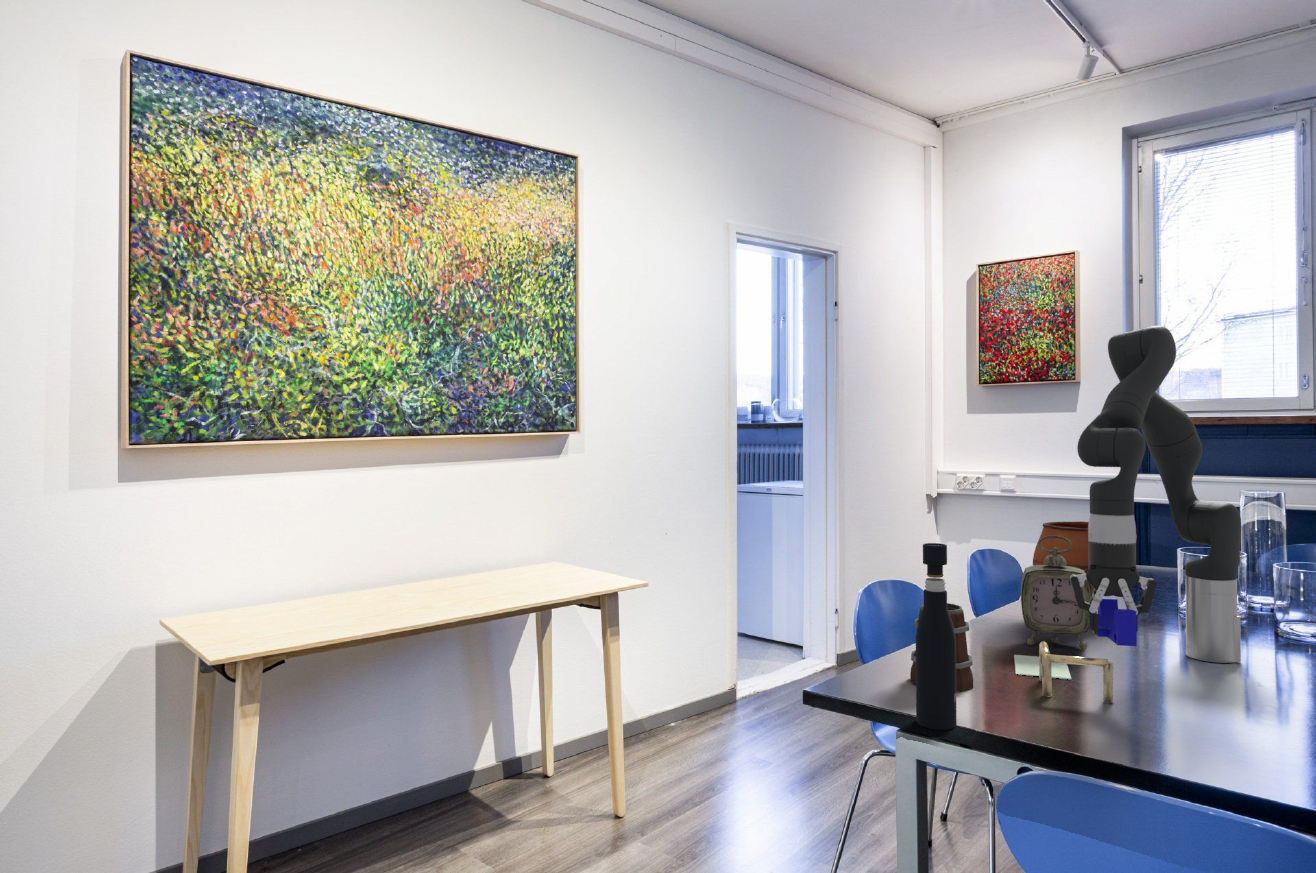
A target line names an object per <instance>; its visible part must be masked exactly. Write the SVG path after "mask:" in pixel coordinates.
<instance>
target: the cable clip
mask: <svg viewBox="0 0 1316 873" xmlns="http://www.w3.org/2000/svg"><path fill="white" fill-rule="evenodd" d="M1118 602H1119V601H1118V598H1116V597H1107V596H1103V598H1102V601H1101V602H1100V604H1099V607H1098V609H1097V613H1098V634H1095V636H1097V637H1100V638H1108V639H1109V640H1110V641H1111V642H1112V643H1114V644H1115V645H1116V646H1123V647H1126V646H1127V647H1137V646H1138V644H1137V642H1138V640H1137V632H1138V631H1137V626H1136V611H1135V610H1131V609H1125V608H1119V603H1118ZM1089 630H1090V628H1089ZM1090 631H1091V632H1092V633H1093V630H1090Z"/></svg>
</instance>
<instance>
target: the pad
mask: <svg viewBox="0 0 1316 873" xmlns="http://www.w3.org/2000/svg"><path fill="white" fill-rule="evenodd" d="M1013 659H1014V669H1015V670H1014V672H1015V675H1016V676H1022V675H1026V676H1025V677H1033V676H1039V656H1035V655H1023V654H1022V655H1021V654H1013ZM1051 670H1052V679H1056V678H1059V679H1058V680H1060V679H1061V680H1067V679H1068V680H1069V681H1072V675H1071V673H1070V670H1069V666H1068V664H1064V663H1053V662H1051ZM1017 674H1018V675H1017Z"/></svg>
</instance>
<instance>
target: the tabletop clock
mask: <svg viewBox="0 0 1316 873" xmlns="http://www.w3.org/2000/svg"><path fill="white" fill-rule="evenodd" d="M1048 538H1059V539H1063V540H1066V541H1067V542H1068V543H1069V544H1070V547H1069V549H1067V550H1063V551H1058V549H1057V548H1056V547H1054V548H1053V551H1049V550H1046V549H1043V548H1042V547H1041V546H1040V543H1041V542H1042V541H1043V540H1045V539H1048ZM1037 543H1038V546H1039V548H1040V549H1041V550H1042V551H1044V552H1046V553H1050V554H1053V555H1049V556H1047V557H1046V558H1045V559H1044V562H1043V565H1034V566H1033V565H1029V566H1027V567H1025V569H1024V570H1023V573H1022V576H1021V582H1020V603H1021V613H1022V619H1023V622H1024V624H1025V626H1026V628H1027V629H1029V630H1032V634H1031V637H1028V638H1027V639H1026V644H1027V645H1028V646H1033V645H1035V640H1034V639H1035V637H1036V635H1037V633H1038V632H1039V633H1044V634H1053V635H1052V636H1051V637H1050V640H1051V642H1052V643H1054V644H1056V643H1058V642H1059V640H1060V639H1059V636H1057V635H1074V636H1075V637H1076V638H1077V640H1078V641H1079V643H1078V647H1079V649H1081V650H1086V649H1087V647H1088V644H1087V643H1086V642H1085V641H1083V640H1082V637H1081V635H1082V634H1085V633H1087V632H1089V631H1090V629H1089V613H1088V611H1087V610H1084V609H1080V608H1079V607H1078V605H1077V602H1076V598H1075V595H1074V591H1073V587H1072V584H1071V580H1070V575H1072V574H1075V575H1080V574H1085V572H1084V570H1081V569H1079V568H1076V567H1070V566H1068V565H1067V562H1066V560H1065V559H1064V558H1063V557H1062V556H1059V555H1058V554H1063V553H1067V552H1068V551H1070V550H1071V548H1072V543H1071V542H1070V540H1069V539H1067V538H1065V537H1063V536H1058V535H1049V536H1045V537H1043V538H1042V539H1040V541H1039V542H1038V541H1037ZM1081 591H1082V594H1083V598H1084V601H1085V602H1087V603H1089V602H1090V600H1091V597H1092V588H1091V584H1090V582H1089V581H1088V579H1086V580H1085V581H1084V586H1082V587H1081Z"/></svg>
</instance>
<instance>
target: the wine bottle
mask: <svg viewBox="0 0 1316 873" xmlns="http://www.w3.org/2000/svg"><path fill="white" fill-rule="evenodd" d="M922 564H923V565H926V568H927V569H926V570H927V571H926V576H927V577H928V578H925V580H924V583H925V585H924V588H925V589H924V590H923V592H922V593H923V604H924V607H923V610H922V613H921V615H920V618H919V617H918V618H919V621H918V626H917V628H916V630H915V632H916V633H915V650H916V685H915V686H916V687H915V709H916V710H915V711H916V712H915V714H916V715H915V717H916V718H915V720H916V721H915V722H916V723H917V724H918V725H919V726H920V727H924V728H927V729H930V730H937V731H944V730H945V731H946V730H948V731H949V730H952V729H954V728H956V727H957V725H958V724H957V692H956V637H955V631H954V627H953V623H952V620H951V617H950V614H949V611H948V608H947V603H948V591H947V590H946V587H947V586H946V582H945V579H944V578H943V577H944V567H943V566H946V565H948V544H946V543H937V542H928V543H927V542H925V543H923V544H922Z"/></svg>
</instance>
